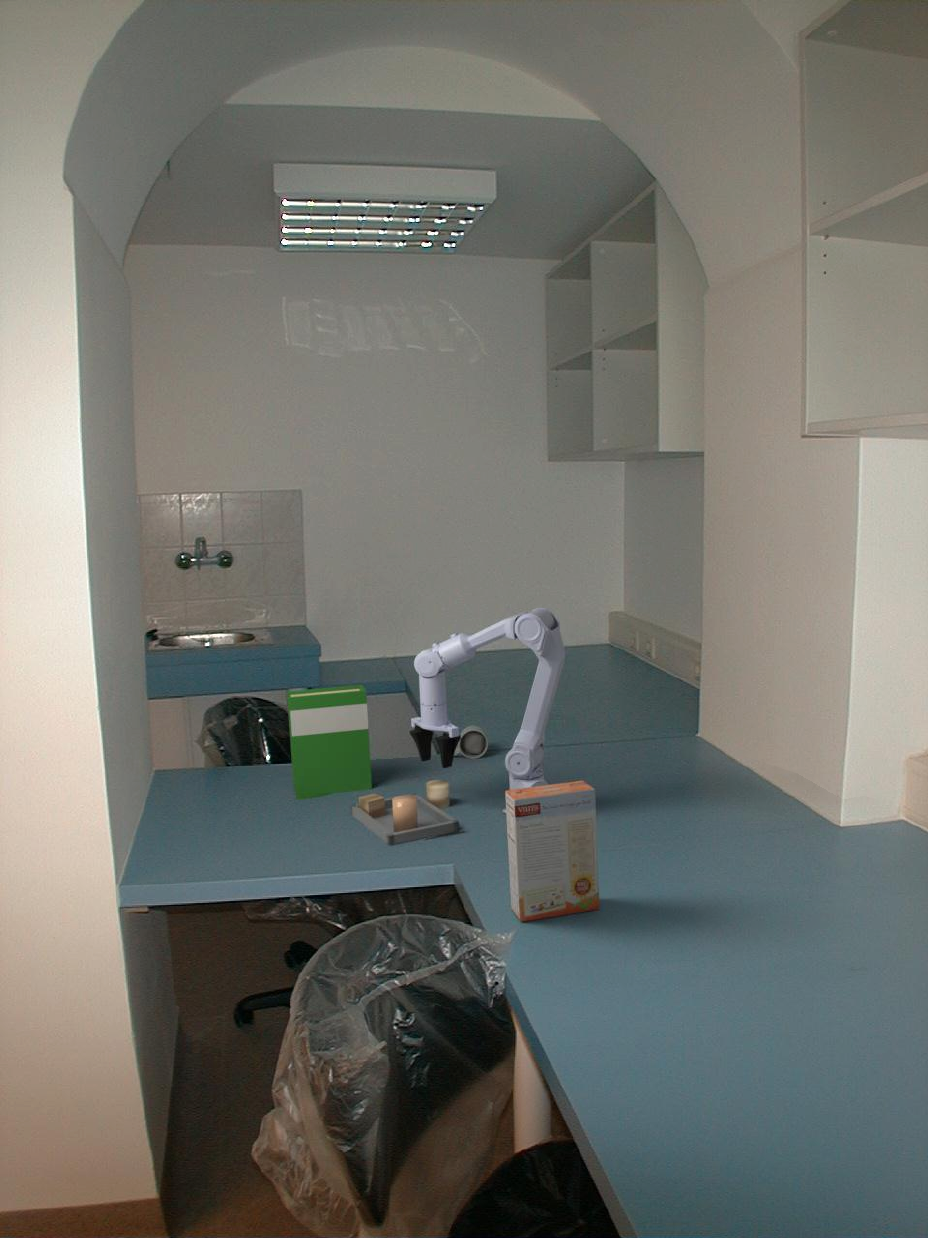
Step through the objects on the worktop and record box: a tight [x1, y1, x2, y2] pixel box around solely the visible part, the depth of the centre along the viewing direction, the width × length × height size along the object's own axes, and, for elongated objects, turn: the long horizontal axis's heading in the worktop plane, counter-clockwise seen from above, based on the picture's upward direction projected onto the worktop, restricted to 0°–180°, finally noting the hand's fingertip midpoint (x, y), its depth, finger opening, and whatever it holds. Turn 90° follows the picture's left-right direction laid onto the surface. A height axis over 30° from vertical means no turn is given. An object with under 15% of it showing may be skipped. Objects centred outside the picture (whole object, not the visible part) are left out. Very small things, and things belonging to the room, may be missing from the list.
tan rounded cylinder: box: [392, 794, 418, 832], centre depth 209 cm, size 5×5×6 cm
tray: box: [349, 792, 460, 846], centre depth 214 cm, size 22×15×2 cm
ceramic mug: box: [454, 725, 489, 760], centre depth 265 cm, size 11×8×8 cm
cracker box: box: [504, 780, 600, 923], centre depth 168 cm, size 14×6×21 cm, turn 104°
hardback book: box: [286, 684, 373, 801], centre depth 238 cm, size 18×7×24 cm, turn 104°
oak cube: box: [358, 793, 385, 819], centre depth 219 cm, size 4×4×4 cm
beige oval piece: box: [425, 779, 451, 810], centre depth 224 cm, size 5×5×6 cm
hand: (436, 763), depth 223 cm, fingers open, 7 cm apart
